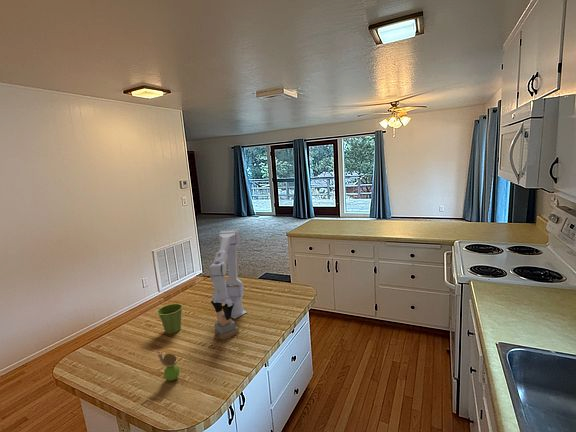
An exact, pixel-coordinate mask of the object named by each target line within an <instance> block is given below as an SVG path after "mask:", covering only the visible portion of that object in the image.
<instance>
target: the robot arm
mask: <svg viewBox="0 0 576 432" xmlns="http://www.w3.org/2000/svg"><path fill="white" fill-rule="evenodd" d="M218 240H219V243H220V246H219V250H218V251H217V252H216V253H215V255H214V259H213V263H212V264H210V265H209V266H208V267H209V268H208V274H209V276H210V279H211V282H212V287H213V294H211V299H212V300H211V301H210V304H211V305H212V307H213V308H214V310H215V312H216V314H217V312H219V311H222V310H223V311H224V314H225V318H226V320H229V319H231V320H232V319H237V318H239V317H241V316H243V315H245V314H247V311H246V310H244V307H243V297H244V295H245V287H244V282H243V281H242V280H241V279H239V277H238V276H239V275H238V272H239V271H238V247H240V246H241V233H240V231H239V230H237V229H236V230H221V231H219V234H218ZM227 268H228V269H227ZM227 271H228V272H227ZM226 274H227V275H228V278H227V280H226ZM223 304H224V305H223Z"/></svg>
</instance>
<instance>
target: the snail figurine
mask: <svg viewBox="0 0 576 432" xmlns="http://www.w3.org/2000/svg"><path fill="white" fill-rule="evenodd" d="M157 356H158V358H159V361H160V363H161V365H162V366H165V368H164V370H163V377H164V379H165V380H166V381H170V382H171V381H175V380H176V379H177V378H178V377H179V375H180V368H179V366H178V365H177V364H178V362H176V360H177V357H176V355H175V354H174V353H170V352H169V353H166V354H165V355H164V356H163V354H162V353H161V352H160V350H157Z"/></svg>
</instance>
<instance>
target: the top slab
mask: <svg viewBox="0 0 576 432" xmlns="http://www.w3.org/2000/svg"><path fill="white" fill-rule="evenodd" d="M236 327H237V325H236V322H235V321H234V320H232V319H231V322H230V323H228V324H226V325H224V326H222V325H221V324H219V323H218V321H216V322H214V329H216V330H217V331H218V332H220V333H221V334H224V333H227V332H229V331H231V330H233V329H235V328H236Z"/></svg>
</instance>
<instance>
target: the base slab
mask: <svg viewBox="0 0 576 432" xmlns="http://www.w3.org/2000/svg"><path fill="white" fill-rule="evenodd" d="M239 333H240V328H239V327H238V326H236V328H235V329H233V330H231V331H229V332H227V333H224V334H221V333H220V332H218V331H217V330H216V329H215V328H214V335H215V336H217V337H219V338H220V339H221V340H223V341H225V340H228V339H229V338H231V337H233V336H235V335H237V334H239Z"/></svg>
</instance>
